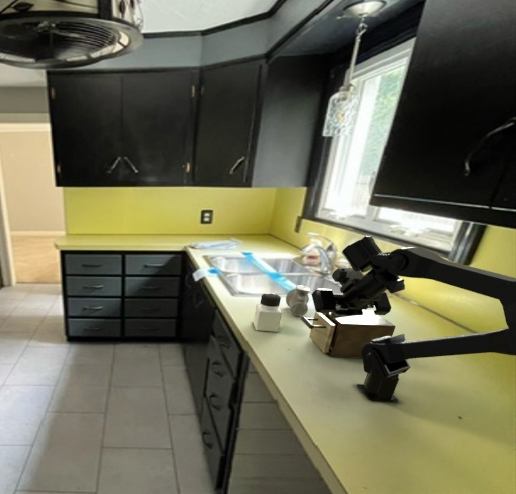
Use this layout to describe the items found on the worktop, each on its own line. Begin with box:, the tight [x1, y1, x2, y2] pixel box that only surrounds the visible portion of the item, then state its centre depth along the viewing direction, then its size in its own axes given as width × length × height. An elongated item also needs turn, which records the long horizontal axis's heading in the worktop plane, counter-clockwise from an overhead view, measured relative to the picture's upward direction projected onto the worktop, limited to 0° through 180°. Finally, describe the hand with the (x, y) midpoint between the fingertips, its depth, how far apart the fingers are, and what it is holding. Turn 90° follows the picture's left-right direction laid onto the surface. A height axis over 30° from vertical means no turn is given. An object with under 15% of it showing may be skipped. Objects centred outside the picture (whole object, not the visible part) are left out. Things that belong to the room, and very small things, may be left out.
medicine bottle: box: [253, 292, 283, 333], centre depth 124 cm, size 7×7×12 cm
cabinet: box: [322, 309, 397, 359], centre depth 110 cm, size 15×13×11 cm
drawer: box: [300, 311, 339, 354], centre depth 110 cm, size 18×11×9 cm, turn 84°
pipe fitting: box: [285, 284, 311, 318], centre depth 139 cm, size 12×8×10 cm
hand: (331, 316), depth 101 cm, fingers closed
